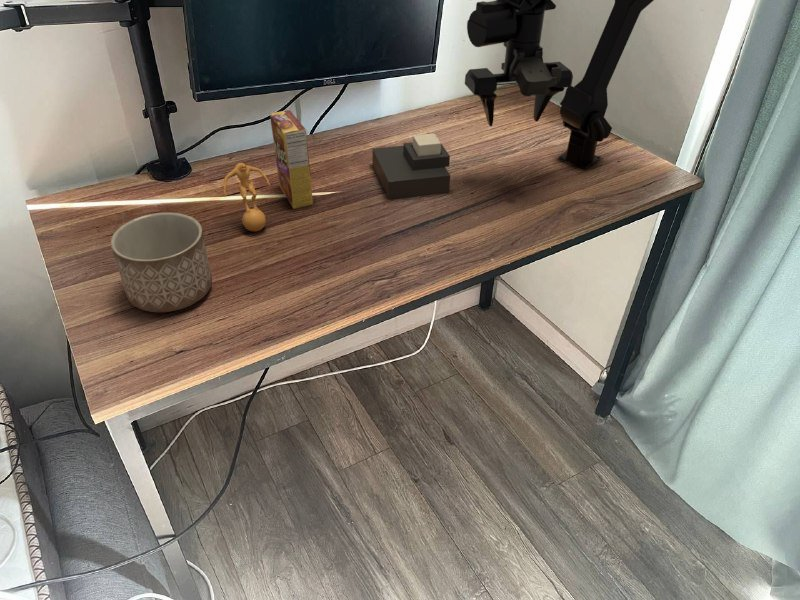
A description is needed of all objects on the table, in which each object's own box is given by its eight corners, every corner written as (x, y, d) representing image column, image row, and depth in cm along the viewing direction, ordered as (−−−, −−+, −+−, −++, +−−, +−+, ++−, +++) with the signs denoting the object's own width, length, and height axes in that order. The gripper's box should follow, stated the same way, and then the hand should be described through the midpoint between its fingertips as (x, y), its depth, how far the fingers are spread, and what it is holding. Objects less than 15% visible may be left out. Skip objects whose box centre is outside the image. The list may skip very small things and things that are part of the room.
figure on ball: (236, 241, 113) (226, 179, 105) (224, 225, 117) (213, 163, 109) (281, 228, 116) (274, 167, 109) (268, 212, 120) (261, 152, 113)
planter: (179, 327, 96) (164, 269, 89) (110, 304, 99) (90, 247, 93) (229, 279, 105) (219, 223, 98) (164, 259, 108) (150, 205, 102)
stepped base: (432, 159, 138) (434, 132, 134) (453, 192, 127) (455, 164, 123) (372, 165, 135) (372, 138, 131) (388, 199, 125) (388, 171, 121)
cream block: (433, 145, 130) (434, 133, 129) (440, 155, 127) (441, 143, 125) (412, 147, 129) (412, 135, 128) (418, 157, 126) (418, 145, 125)
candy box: (277, 187, 127) (268, 112, 118) (298, 183, 129) (292, 108, 119) (291, 210, 121) (283, 132, 112) (313, 205, 123) (307, 128, 113)
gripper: (490, 58, 106) (481, 147, 116) (595, 49, 110) (577, 136, 120) (467, 36, 115) (460, 121, 124) (565, 28, 118) (551, 111, 128)
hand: (513, 123), depth 124 cm, fingers open, 9 cm apart
